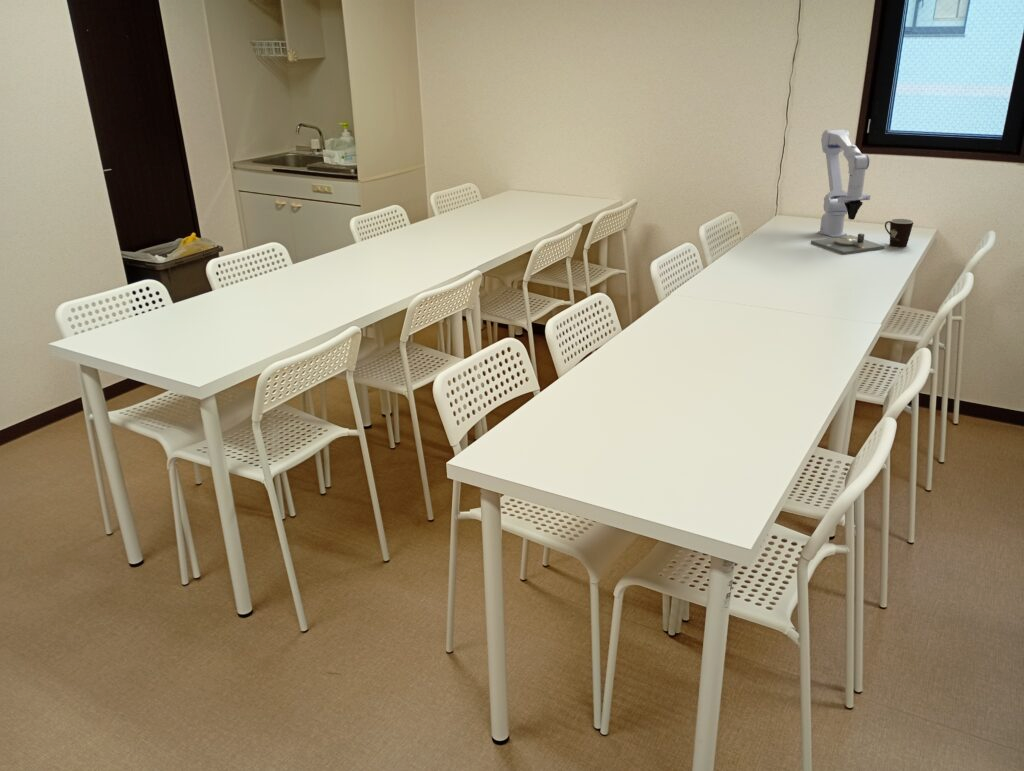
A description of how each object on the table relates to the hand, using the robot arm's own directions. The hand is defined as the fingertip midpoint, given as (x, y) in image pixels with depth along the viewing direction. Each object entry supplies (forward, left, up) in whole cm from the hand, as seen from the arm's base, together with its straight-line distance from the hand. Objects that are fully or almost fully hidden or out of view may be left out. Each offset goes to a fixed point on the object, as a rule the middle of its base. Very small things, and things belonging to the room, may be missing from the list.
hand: (851, 219), depth 341 cm
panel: (+4, -4, -10) cm, 11 cm away
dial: (+6, -4, -9) cm, 11 cm away
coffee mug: (+11, +15, -10) cm, 21 cm away
